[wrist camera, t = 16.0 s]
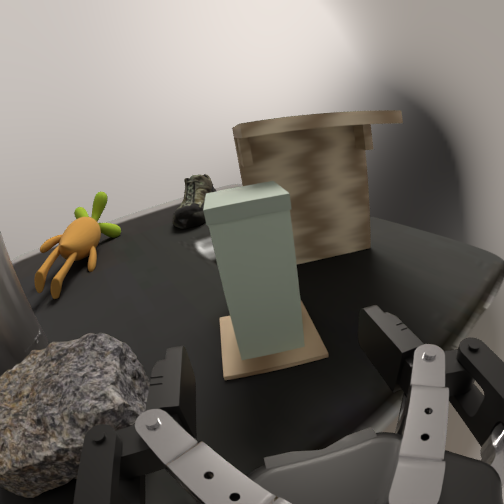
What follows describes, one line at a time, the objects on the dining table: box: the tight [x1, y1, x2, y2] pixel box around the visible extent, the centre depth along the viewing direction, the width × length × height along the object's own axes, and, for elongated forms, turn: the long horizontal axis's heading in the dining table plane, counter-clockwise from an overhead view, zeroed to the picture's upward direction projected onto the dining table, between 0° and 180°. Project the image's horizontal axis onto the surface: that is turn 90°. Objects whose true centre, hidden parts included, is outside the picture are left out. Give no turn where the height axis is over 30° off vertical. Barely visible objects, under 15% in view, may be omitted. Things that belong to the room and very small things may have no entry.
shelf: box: [232, 111, 403, 264], centre depth 30 cm, size 15×10×17 cm, turn 98°
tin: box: [203, 181, 305, 360], centre depth 22 cm, size 5×5×12 cm
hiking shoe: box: [173, 174, 216, 229], centre depth 66 cm, size 8×21×9 cm, turn 176°
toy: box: [35, 192, 121, 299], centre depth 51 cm, size 13×14×30 cm
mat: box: [220, 300, 328, 380], centre depth 25 cm, size 8×8×1 cm
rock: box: [0, 333, 150, 498], centre depth 15 cm, size 13×6×15 cm
